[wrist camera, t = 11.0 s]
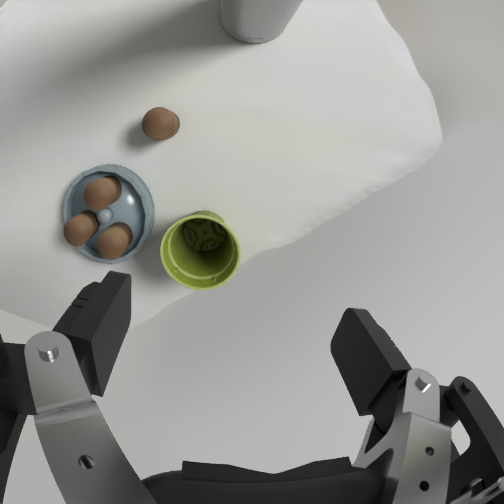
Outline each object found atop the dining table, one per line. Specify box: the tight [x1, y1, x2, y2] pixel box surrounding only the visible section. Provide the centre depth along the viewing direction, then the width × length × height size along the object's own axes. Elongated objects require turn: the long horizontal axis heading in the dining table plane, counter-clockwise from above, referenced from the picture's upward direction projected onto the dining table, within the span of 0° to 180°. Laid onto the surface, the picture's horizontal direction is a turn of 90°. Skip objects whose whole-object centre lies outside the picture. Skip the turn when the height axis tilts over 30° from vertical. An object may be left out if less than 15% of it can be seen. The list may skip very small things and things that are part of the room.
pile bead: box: [142, 107, 180, 139], centre depth 31 cm, size 4×4×4 cm
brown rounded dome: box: [84, 175, 122, 211], centre depth 33 cm, size 4×4×4 cm
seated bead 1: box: [64, 210, 100, 247], centre depth 34 cm, size 4×4×4 cm
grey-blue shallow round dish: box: [63, 164, 154, 264], centre depth 36 cm, size 14×14×3 cm
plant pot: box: [160, 211, 241, 290], centre depth 36 cm, size 9×9×9 cm
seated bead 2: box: [97, 222, 133, 260], centre depth 35 cm, size 4×4×4 cm
